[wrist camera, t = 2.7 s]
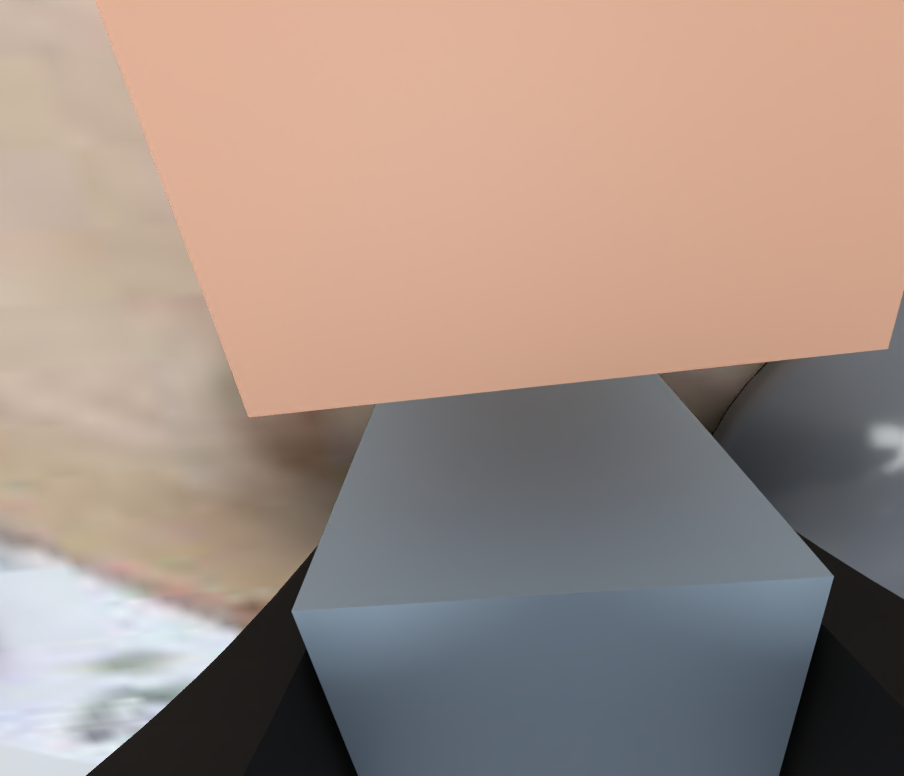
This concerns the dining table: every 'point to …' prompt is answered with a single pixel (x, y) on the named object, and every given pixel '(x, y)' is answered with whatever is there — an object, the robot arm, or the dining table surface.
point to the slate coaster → (831, 451)
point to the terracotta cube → (523, 185)
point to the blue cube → (558, 592)
